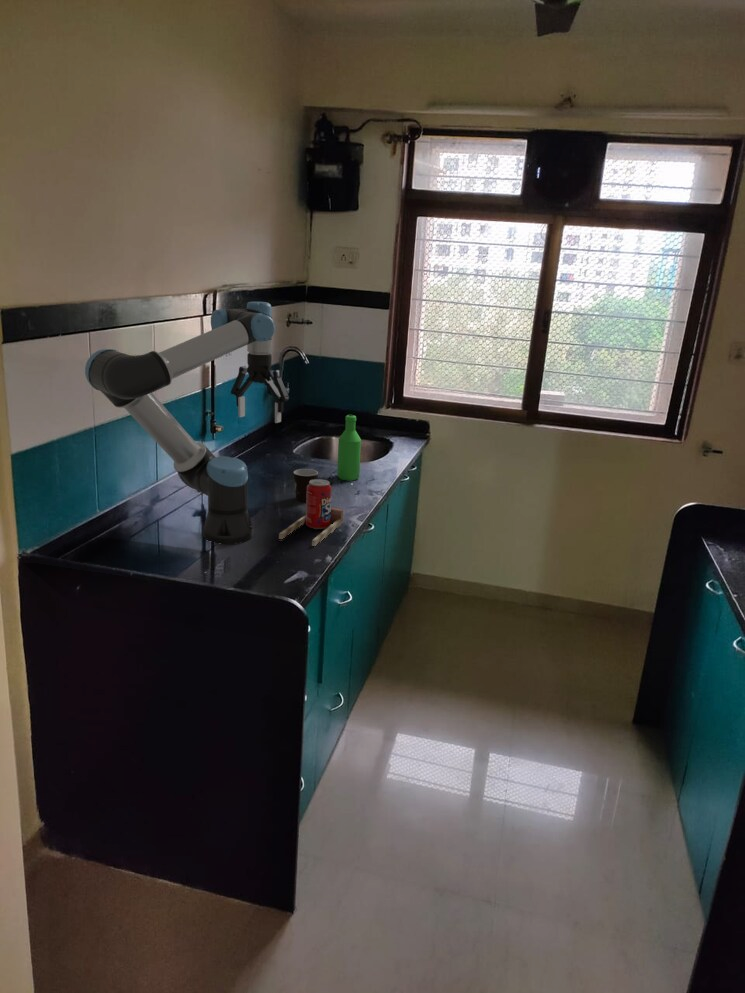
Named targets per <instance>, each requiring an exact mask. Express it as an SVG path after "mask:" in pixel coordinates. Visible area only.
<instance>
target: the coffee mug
mask: <svg viewBox="0 0 745 993" xmlns="http://www.w3.org/2000/svg"><path fill="white" fill-rule="evenodd" d="M318 476H319V472H318V471H317V470H315V469H312V468H299V469H296V470H294V471H293V478H294V489H295V499H296V501H297V502H299V503H306V499H307V486H308V484H309V481H311V480H314V479H318Z"/></svg>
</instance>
